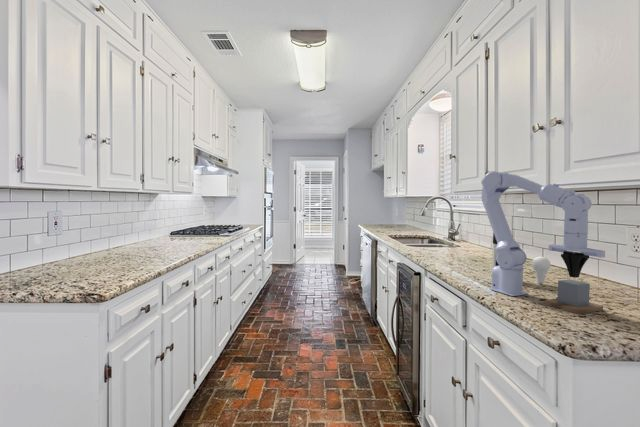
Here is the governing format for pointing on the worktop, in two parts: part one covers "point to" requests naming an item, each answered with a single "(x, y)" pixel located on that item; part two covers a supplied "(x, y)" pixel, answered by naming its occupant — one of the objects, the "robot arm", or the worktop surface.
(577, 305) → the blue-grey block
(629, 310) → the worktop surface
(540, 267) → the lightbulb
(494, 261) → the spray can
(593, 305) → the brown base with post
